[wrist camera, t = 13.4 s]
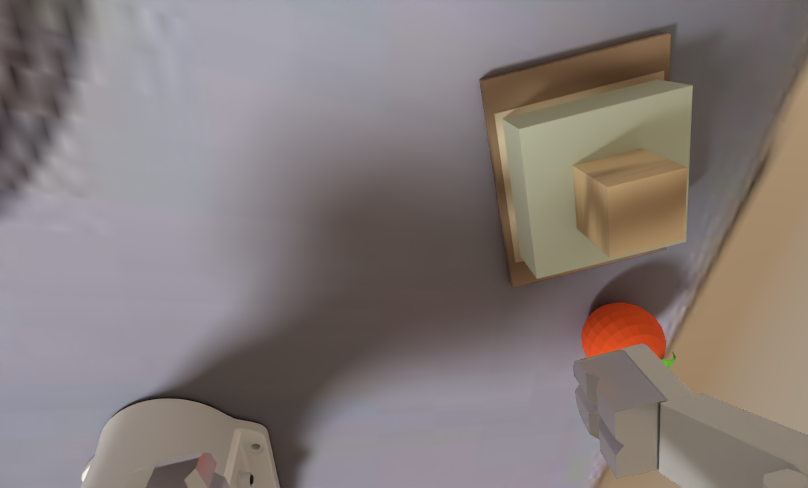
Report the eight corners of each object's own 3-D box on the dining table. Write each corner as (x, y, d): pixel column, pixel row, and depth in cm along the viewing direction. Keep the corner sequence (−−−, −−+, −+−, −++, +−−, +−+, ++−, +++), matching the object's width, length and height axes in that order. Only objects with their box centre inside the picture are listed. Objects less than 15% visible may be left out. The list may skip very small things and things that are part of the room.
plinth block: (656, 222, 40) (686, 241, 36) (520, 256, 40) (536, 278, 36) (657, 79, 35) (692, 85, 31) (501, 118, 35) (518, 129, 31)
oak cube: (641, 212, 35) (684, 239, 30) (576, 228, 35) (609, 258, 30) (641, 148, 33) (687, 167, 28) (572, 165, 33) (607, 187, 28)
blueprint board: (659, 244, 42) (666, 250, 41) (509, 282, 42) (513, 288, 41) (662, 33, 34) (671, 33, 33) (479, 79, 35) (483, 81, 34)
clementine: (659, 293, 44) (710, 337, 38) (632, 351, 47) (676, 402, 41) (582, 284, 43) (622, 329, 37) (559, 345, 46) (592, 396, 40)
